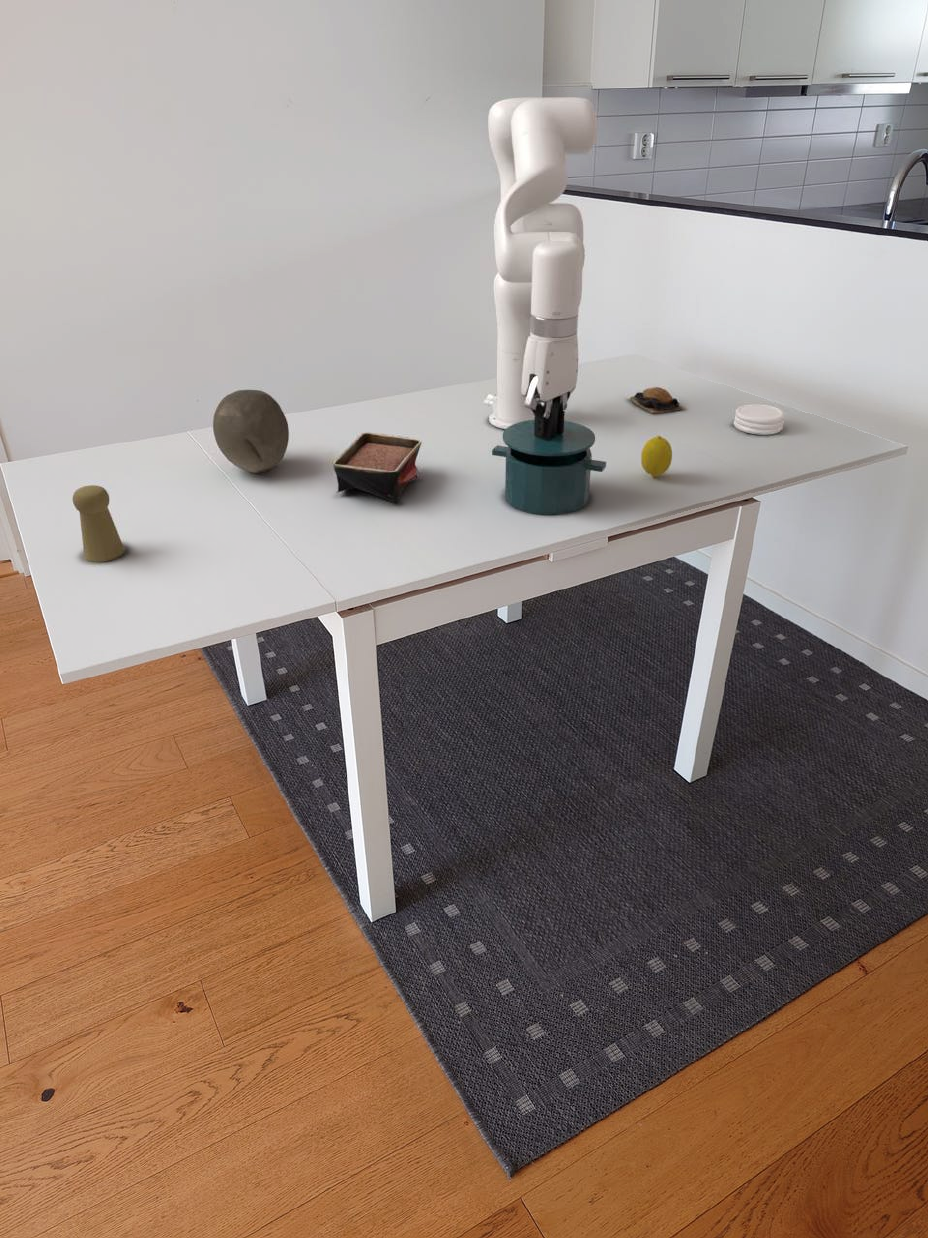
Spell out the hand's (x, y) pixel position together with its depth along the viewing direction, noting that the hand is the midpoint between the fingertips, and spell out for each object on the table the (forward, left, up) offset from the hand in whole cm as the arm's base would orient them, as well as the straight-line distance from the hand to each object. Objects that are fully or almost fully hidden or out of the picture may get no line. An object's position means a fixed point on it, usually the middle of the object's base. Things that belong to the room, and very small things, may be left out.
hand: (548, 434), depth 151 cm
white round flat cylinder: (+13, +57, -12) cm, 59 cm away
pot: (0, 0, -11) cm, 12 cm away
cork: (-41, -62, -12) cm, 75 cm away
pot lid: (0, 0, -1) cm, 1 cm away
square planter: (-26, -16, -12) cm, 33 cm away
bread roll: (-11, +56, -12) cm, 58 cm away
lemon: (+10, +20, -12) cm, 25 cm away
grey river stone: (-50, -25, -12) cm, 57 cm away
